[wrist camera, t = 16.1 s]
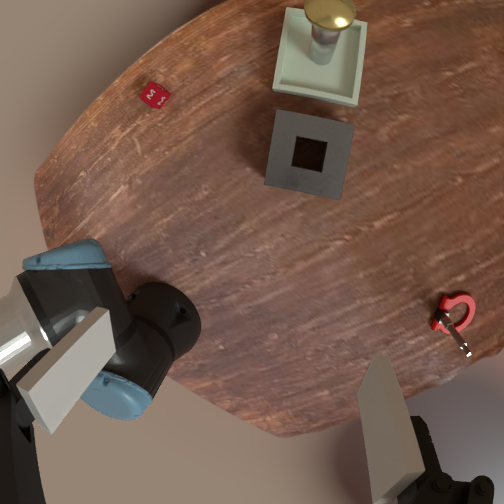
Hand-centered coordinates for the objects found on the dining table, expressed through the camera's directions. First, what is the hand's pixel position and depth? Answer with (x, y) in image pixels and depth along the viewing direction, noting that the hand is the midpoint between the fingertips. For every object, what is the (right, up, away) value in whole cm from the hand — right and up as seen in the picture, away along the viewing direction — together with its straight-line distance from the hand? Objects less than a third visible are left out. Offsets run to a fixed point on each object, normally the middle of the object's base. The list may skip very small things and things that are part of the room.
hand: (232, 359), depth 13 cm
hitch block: (+9, +19, +27) cm, 34 cm away
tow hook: (+38, -6, +31) cm, 49 cm away
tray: (+11, +33, +21) cm, 41 cm away
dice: (-14, +29, +27) cm, 42 cm away
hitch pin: (+11, +33, +21) cm, 40 cm away
